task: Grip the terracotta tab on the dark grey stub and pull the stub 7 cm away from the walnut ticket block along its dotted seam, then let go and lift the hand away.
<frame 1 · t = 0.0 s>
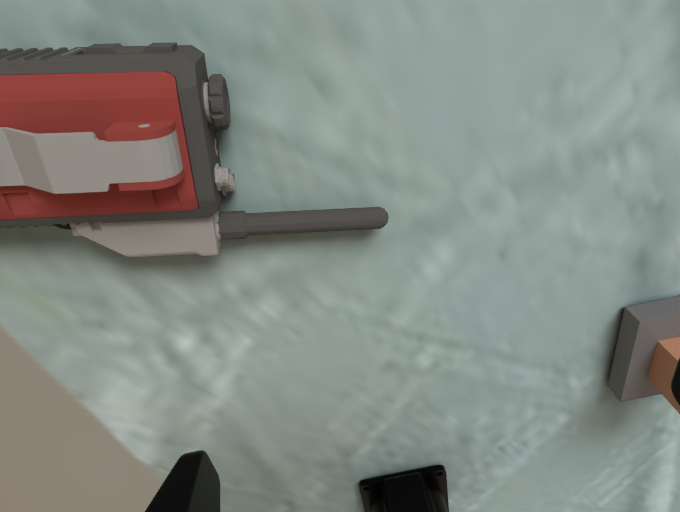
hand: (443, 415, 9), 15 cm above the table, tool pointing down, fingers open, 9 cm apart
walkie-talkie: (164, 146, 21), on the table
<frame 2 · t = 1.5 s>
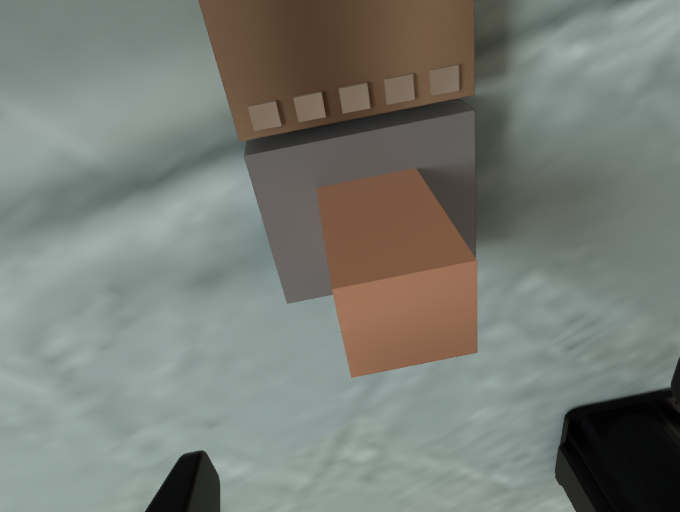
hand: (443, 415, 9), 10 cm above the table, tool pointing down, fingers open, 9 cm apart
stub: (382, 247, 14), point 4 cm above the table, slide at 0.0 cm
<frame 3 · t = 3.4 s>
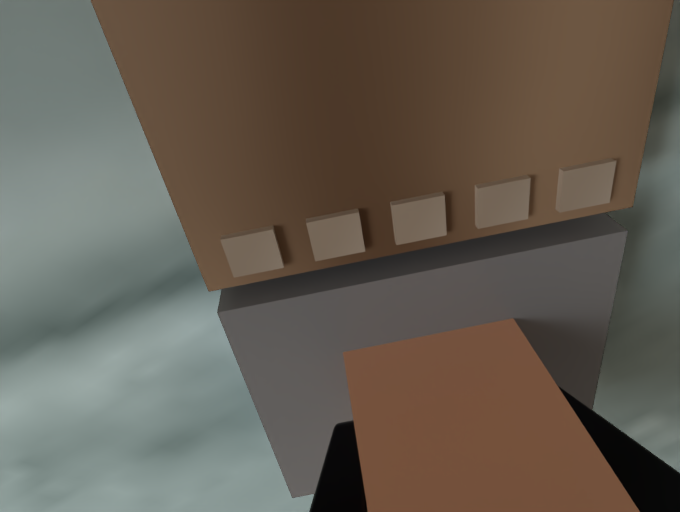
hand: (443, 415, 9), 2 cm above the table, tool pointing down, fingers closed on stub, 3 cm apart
stub: (465, 479, 8), point 4 cm above the table, slide at 0.0 cm, touching gripper
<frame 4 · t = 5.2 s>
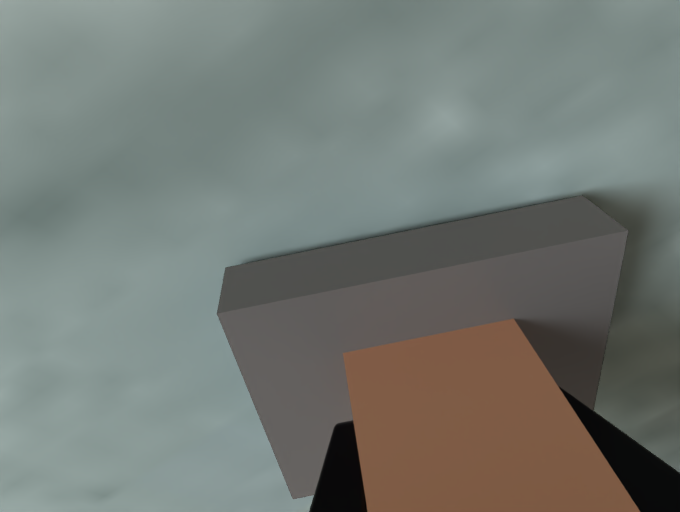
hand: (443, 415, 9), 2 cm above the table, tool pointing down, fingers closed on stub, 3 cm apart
stub: (466, 480, 8), point 4 cm above the table, slide at 6.8 cm, touching gripper
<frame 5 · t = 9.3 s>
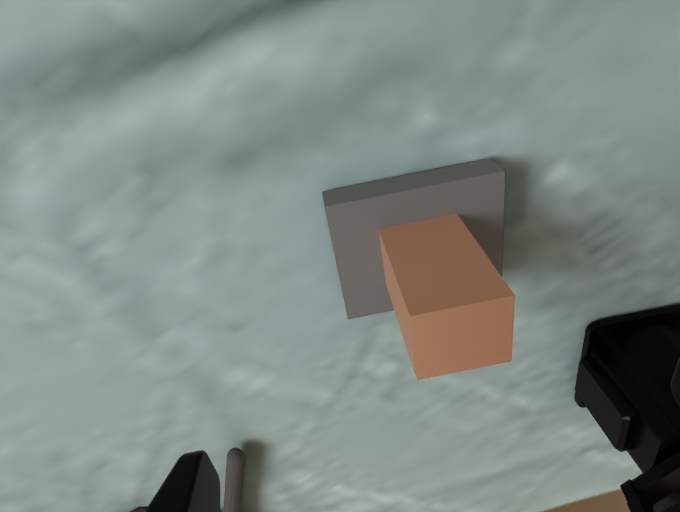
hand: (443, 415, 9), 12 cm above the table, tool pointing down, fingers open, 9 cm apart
stub: (433, 278, 18), point 4 cm above the table, slide at 7.0 cm
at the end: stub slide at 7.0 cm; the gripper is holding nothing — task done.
